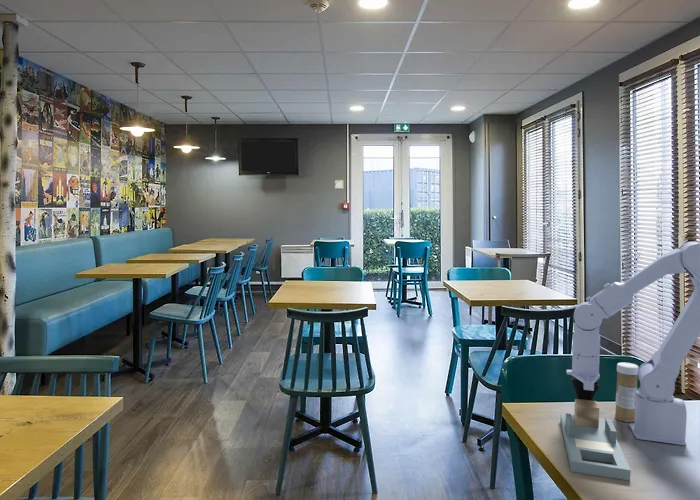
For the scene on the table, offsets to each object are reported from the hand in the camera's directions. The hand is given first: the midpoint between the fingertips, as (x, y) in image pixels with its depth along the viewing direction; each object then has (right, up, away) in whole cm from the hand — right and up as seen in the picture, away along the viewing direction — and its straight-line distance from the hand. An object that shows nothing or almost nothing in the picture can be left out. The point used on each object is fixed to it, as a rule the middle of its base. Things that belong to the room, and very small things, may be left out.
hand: (583, 410), depth 118 cm
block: (-2, -1, -4) cm, 5 cm away
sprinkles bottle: (+11, -3, +3) cm, 12 cm away
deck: (-4, -4, -12) cm, 14 cm away
